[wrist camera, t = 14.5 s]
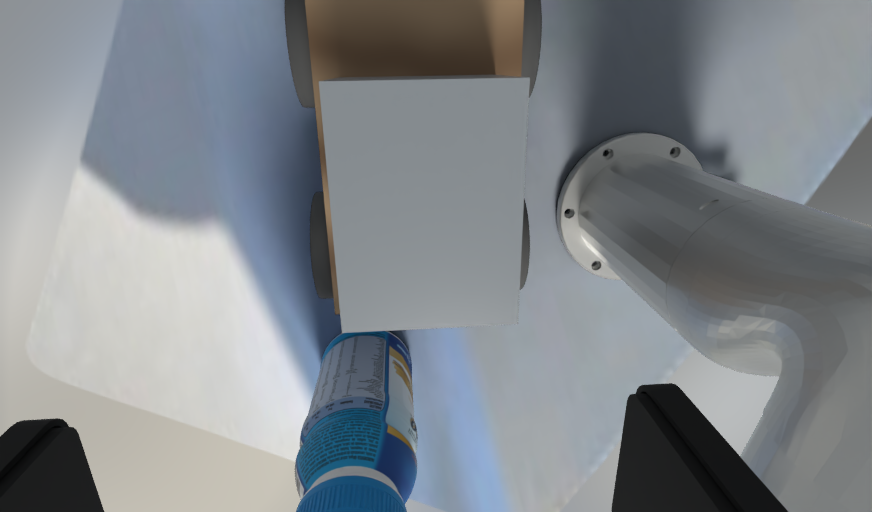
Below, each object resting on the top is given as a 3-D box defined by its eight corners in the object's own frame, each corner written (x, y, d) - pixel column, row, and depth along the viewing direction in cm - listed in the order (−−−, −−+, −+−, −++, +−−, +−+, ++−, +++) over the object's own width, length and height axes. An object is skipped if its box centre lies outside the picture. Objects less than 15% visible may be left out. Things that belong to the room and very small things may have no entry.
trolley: (303, -16, 35) (221, -87, 19) (514, -17, 36) (613, -86, 20) (331, 273, 43) (290, 402, 27) (504, 266, 44) (568, 386, 28)
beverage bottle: (349, 306, 44) (315, 481, 26) (430, 348, 46) (453, 538, 28) (304, 376, 46) (242, 585, 28) (383, 414, 48) (374, 631, 30)
